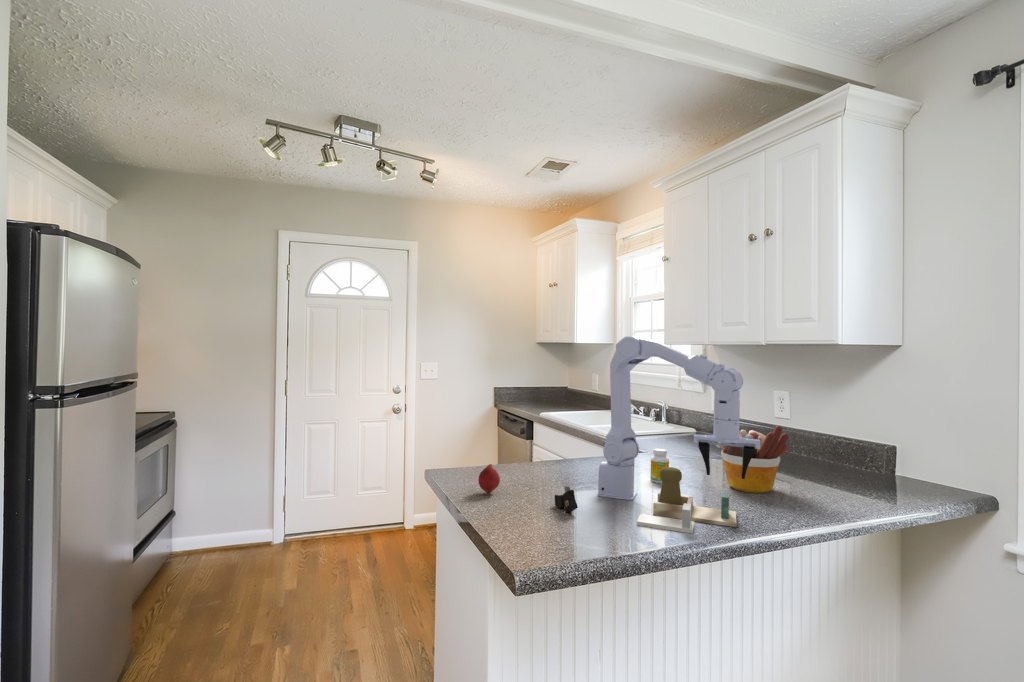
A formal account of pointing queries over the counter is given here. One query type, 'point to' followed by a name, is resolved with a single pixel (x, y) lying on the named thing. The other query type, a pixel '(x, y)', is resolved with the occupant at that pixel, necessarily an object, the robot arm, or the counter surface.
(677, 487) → the cork
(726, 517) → the cream slotted holder
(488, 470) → the onion
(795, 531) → the counter surface
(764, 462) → the bucket of meat
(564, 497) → the black angular piece
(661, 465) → the supplement bottle
